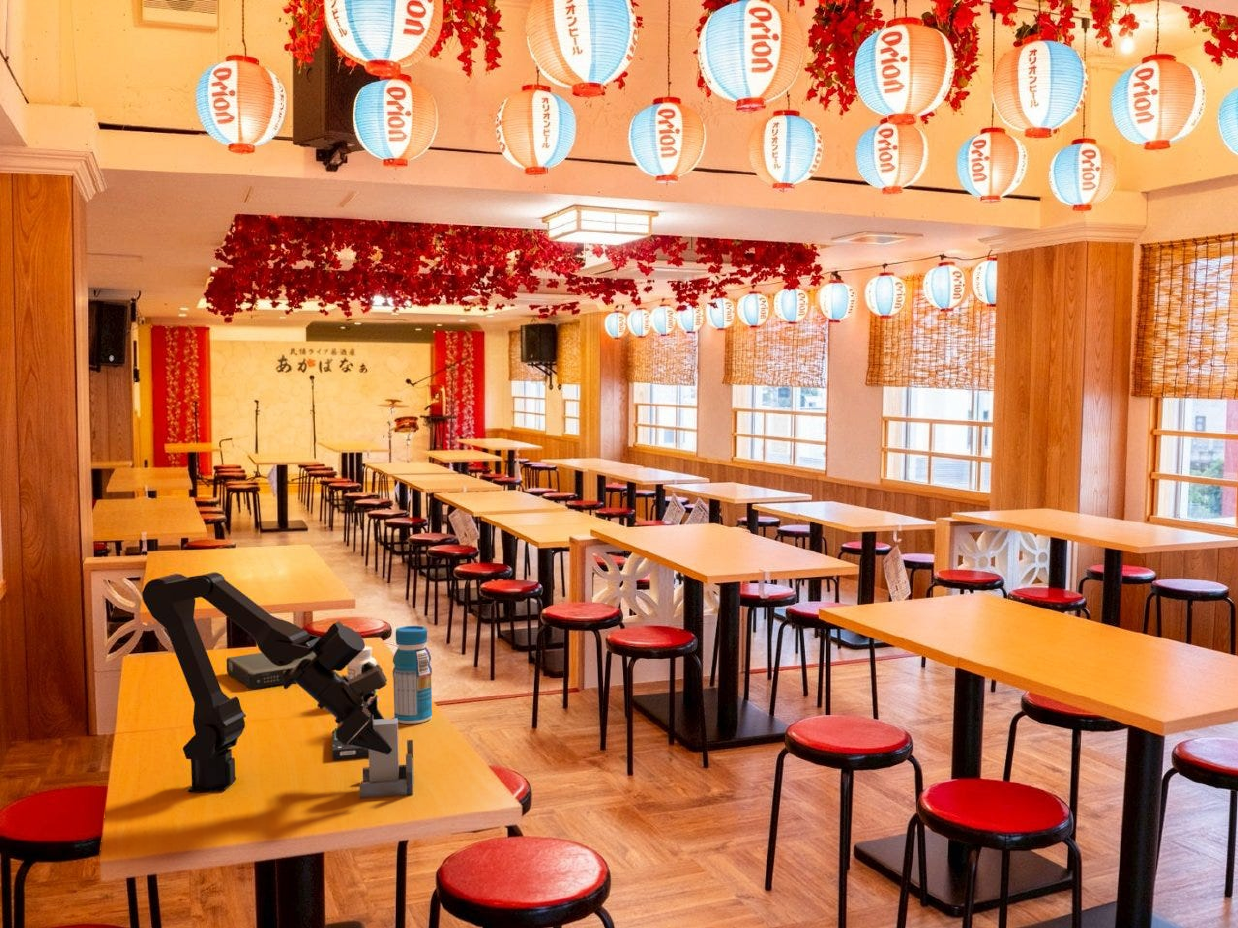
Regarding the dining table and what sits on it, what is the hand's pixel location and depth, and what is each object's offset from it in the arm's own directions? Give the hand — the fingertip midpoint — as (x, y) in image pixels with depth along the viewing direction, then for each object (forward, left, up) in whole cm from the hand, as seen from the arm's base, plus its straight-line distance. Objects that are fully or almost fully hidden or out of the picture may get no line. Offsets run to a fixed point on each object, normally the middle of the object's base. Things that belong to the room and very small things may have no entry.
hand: (391, 743), depth 189 cm
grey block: (-1, 0, -8) cm, 8 cm away
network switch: (-47, +83, -9) cm, 95 cm away
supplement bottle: (-19, +56, -8) cm, 59 cm away
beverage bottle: (-5, +42, -8) cm, 43 cm away
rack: (-1, 0, -8) cm, 8 cm away
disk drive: (-12, +24, -9) cm, 28 cm away
